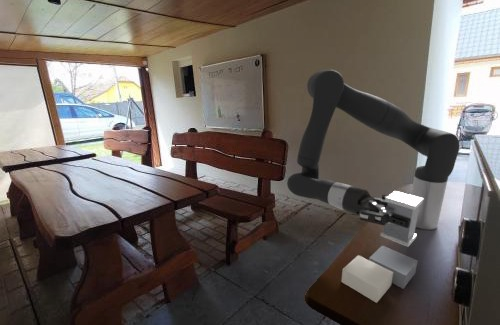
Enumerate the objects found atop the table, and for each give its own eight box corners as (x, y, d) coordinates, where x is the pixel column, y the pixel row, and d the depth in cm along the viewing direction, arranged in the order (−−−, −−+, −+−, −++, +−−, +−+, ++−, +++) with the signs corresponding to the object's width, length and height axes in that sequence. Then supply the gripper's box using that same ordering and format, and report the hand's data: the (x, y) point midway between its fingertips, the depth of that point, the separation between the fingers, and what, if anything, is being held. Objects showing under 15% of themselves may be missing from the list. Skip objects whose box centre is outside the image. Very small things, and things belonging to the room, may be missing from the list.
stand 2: (380, 257, 76) (382, 245, 74) (415, 273, 69) (417, 260, 68) (367, 270, 71) (369, 257, 70) (403, 288, 64) (406, 275, 63)
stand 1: (356, 267, 72) (358, 255, 71) (391, 285, 65) (393, 272, 64) (341, 281, 67) (342, 268, 66) (376, 303, 60) (378, 289, 59)
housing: (389, 227, 71) (394, 190, 67) (416, 237, 66) (423, 198, 63) (380, 235, 67) (385, 197, 64) (408, 247, 63) (415, 206, 59)
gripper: (335, 193, 70) (404, 217, 57) (361, 179, 78) (426, 196, 66) (333, 218, 72) (399, 246, 60) (359, 201, 81) (421, 222, 68)
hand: (413, 219), depth 63 cm, fingers closed on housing, 4 cm apart
